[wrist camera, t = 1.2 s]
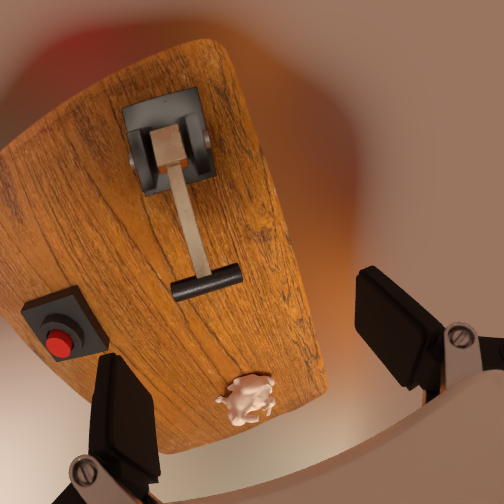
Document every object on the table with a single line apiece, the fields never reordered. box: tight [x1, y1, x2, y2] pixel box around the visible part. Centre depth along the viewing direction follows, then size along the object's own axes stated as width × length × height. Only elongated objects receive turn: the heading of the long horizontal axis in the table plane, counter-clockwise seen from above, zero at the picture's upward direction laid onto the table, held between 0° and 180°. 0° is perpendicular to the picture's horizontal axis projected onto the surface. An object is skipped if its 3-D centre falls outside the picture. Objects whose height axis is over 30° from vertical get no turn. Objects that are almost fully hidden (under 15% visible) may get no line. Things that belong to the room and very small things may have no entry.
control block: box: [21, 286, 110, 362], centre depth 31 cm, size 10×10×4 cm
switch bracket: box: [121, 87, 217, 197], centre depth 23 cm, size 10×8×12 cm
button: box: [46, 329, 73, 358], centre depth 29 cm, size 4×4×2 cm
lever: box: [149, 124, 243, 302], centre depth 20 cm, size 12×5×2 cm, turn 11°
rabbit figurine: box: [215, 374, 275, 426], centre depth 44 cm, size 12×8×10 cm, turn 105°
